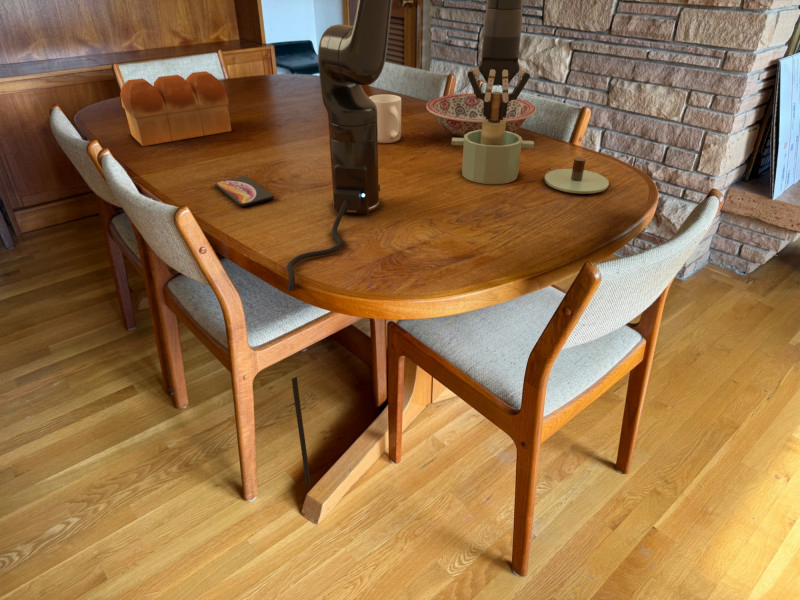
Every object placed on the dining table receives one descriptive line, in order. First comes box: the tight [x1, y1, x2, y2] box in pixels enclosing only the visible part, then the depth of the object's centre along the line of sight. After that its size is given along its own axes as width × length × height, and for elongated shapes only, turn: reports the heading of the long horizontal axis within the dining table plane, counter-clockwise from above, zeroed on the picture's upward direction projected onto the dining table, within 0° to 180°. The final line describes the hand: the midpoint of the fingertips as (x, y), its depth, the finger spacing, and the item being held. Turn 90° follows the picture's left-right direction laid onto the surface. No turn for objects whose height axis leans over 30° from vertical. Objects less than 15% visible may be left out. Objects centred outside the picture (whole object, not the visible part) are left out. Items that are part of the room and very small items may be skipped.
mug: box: [368, 94, 402, 144], centre depth 150 cm, size 9×12×11 cm
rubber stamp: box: [480, 91, 506, 146], centre depth 125 cm, size 5×5×12 cm
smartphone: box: [215, 175, 274, 208], centre depth 121 cm, size 8×1×15 cm
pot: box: [451, 130, 535, 185], centre depth 129 cm, size 13×18×8 cm
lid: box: [543, 156, 610, 195], centre depth 125 cm, size 14×14×6 cm
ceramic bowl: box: [426, 93, 537, 138], centre depth 155 cm, size 29×29×8 cm
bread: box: [119, 71, 232, 147], centre depth 154 cm, size 25×12×15 cm, turn 125°
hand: (494, 118), depth 125 cm, fingers closed on rubber stamp, 2 cm apart
